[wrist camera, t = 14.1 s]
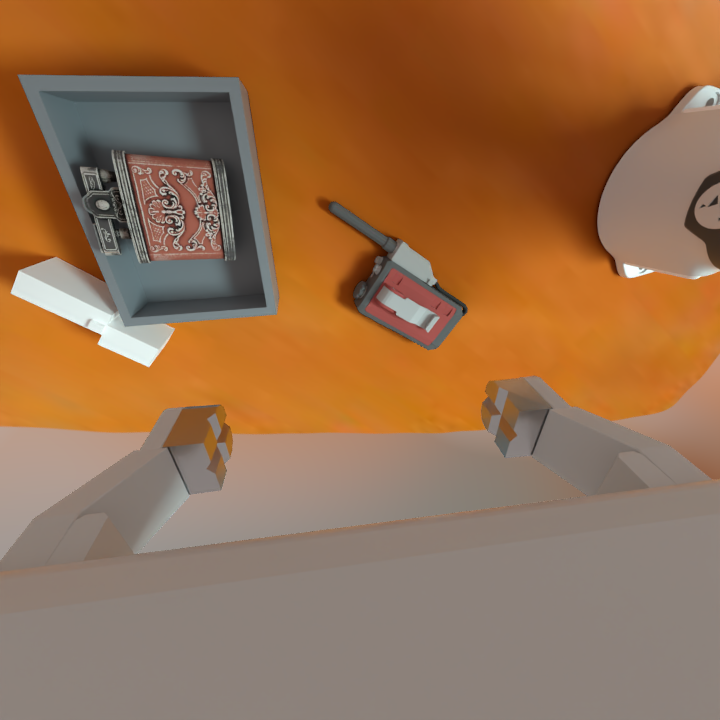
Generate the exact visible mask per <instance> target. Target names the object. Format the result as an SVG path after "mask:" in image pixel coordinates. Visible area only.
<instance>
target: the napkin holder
mask: <svg viewBox="0 0 720 720" xmlns="http://www.w3.org/2000/svg"><path fill="white" fill-rule="evenodd" d="M11 294H13V295H15V296H18V297H20V298H22V299H24V300H26V301H28V302H31V303H33V304H35V305H37V306H39V307H42V308H44V309H46V310H48V311H50V312H53V313H55V314H57V315H59V316H61V317H64V318H66V319H68V320H70V321H72V322H74V323H77V324H79V325H81V326H83V327H85V328H88V329H90V330H92V331H94V332H96V333H99V334H101V335H102V336H101V338H100V340H99V342H98V345H100V346H103V347H105V348H107V349H109V350H112V351H114V352H116V353H118V354H121V355H123V356H125V357H127V358H130V359H132V360H134V361H136V362H139V363H141V364H143V365H145V366H148V367H149V366H150V365H151V364H152V362H153V361H154V360H155V358H156V357H157V356H158V354H159V353H160V352H161V350H162V349H163V348H164V346H165V345H166V343H167V342H168V340H169V338H170V337H171V335H172V333H173V331H174V330H175V329H174V328H172V327H170V326H168V325H166V324H153V325H141V326H129V327H125V326H124V324H123V321H122V319H121V317H120V314H119V312H118V310H117V307H116V305H115V303H114V300H113V298H112V295H111V293H110V291H109V288H108V286H107V284H106V282H104V281H102V280H100V279H98V278H96V277H94V276H92V275H90V274H88V273H86V272H84V271H83V270H81V269H79V268H77V267H75V266H73V265H71V264H69V263H67V262H65V261H63V260H61V259H60V258H58V257H54V258H51V259H49V260H46V261H43V262H41V263H38V264H35V265H32V266H30V267H27V268H24V269H21V270H19V271H18V274H17V277H16V279H15V282H14V285H13V288H12V291H11Z"/></svg>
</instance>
